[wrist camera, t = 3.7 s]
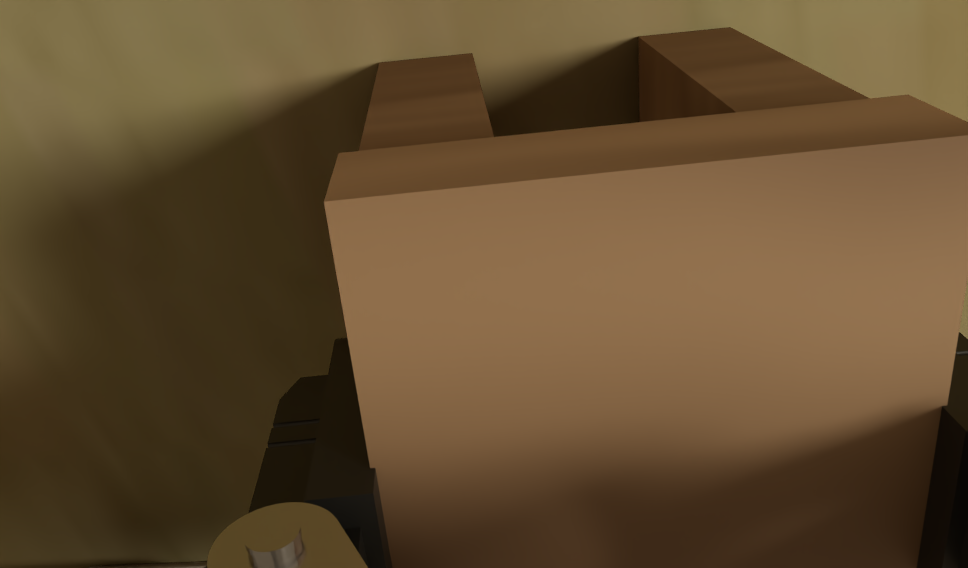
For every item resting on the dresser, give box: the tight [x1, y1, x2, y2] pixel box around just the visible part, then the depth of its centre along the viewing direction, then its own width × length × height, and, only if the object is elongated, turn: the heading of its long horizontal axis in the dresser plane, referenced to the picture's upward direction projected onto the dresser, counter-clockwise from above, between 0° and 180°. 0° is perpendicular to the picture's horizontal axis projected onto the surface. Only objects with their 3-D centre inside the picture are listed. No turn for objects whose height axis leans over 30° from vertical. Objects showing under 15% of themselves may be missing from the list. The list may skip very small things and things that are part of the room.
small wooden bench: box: [324, 27, 968, 568], centre depth 13 cm, size 8×6×7 cm
